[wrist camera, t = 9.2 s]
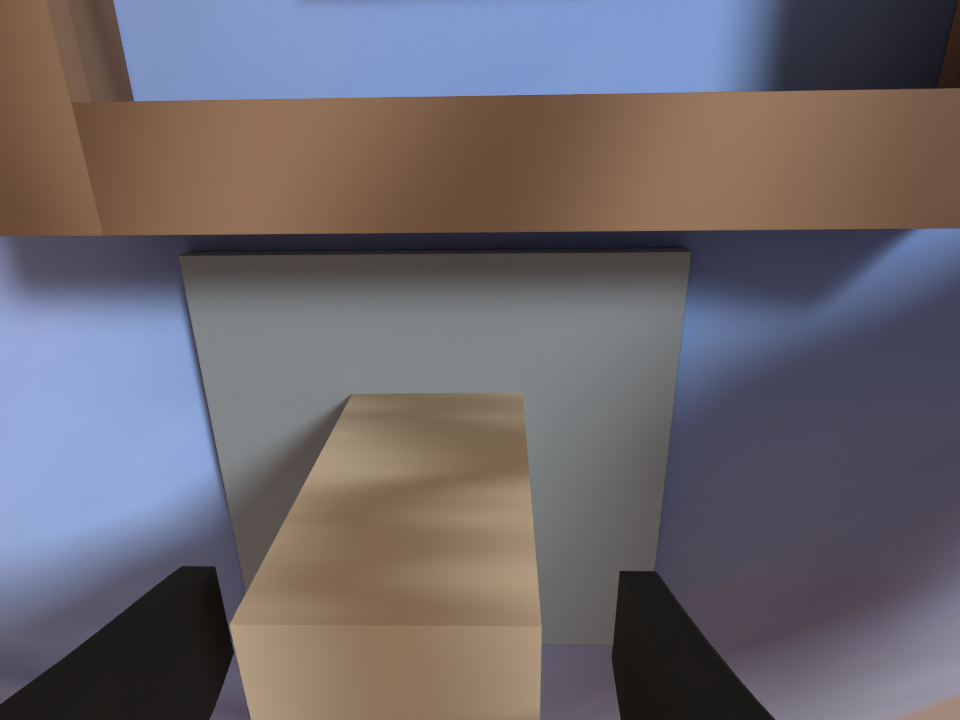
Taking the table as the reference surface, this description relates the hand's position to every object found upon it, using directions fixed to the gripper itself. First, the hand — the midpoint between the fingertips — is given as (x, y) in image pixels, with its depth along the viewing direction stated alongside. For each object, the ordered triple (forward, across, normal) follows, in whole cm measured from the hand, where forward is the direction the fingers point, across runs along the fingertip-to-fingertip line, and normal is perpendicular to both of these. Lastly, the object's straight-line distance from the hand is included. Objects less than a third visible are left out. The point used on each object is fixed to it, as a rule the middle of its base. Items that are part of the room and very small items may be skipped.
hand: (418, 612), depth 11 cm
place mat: (+5, 0, 0) cm, 5 cm away
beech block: (+4, 0, 0) cm, 5 cm away
